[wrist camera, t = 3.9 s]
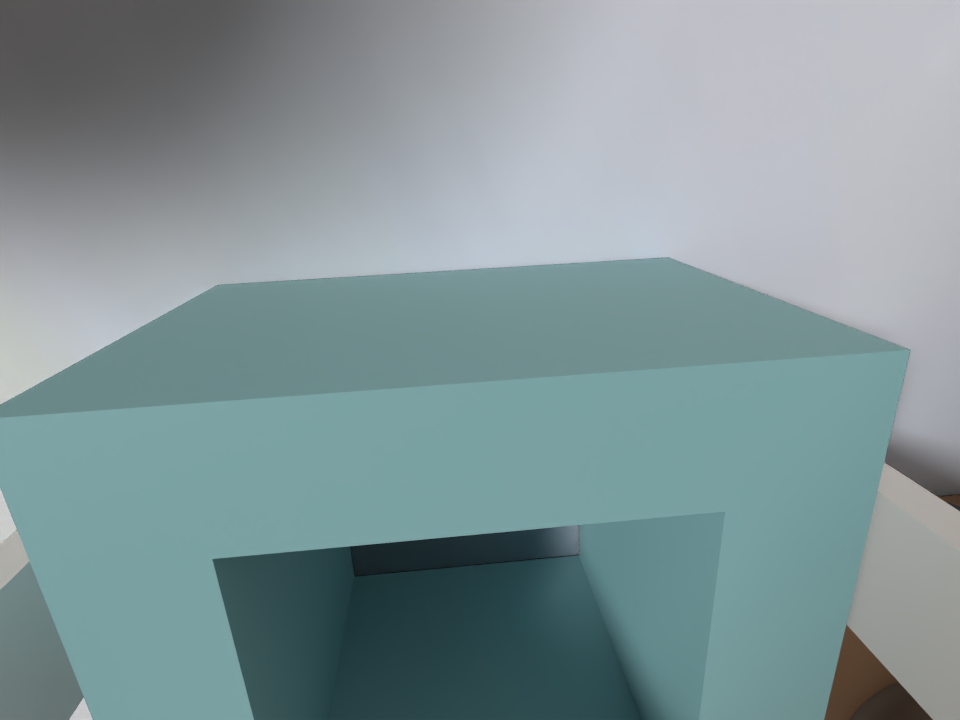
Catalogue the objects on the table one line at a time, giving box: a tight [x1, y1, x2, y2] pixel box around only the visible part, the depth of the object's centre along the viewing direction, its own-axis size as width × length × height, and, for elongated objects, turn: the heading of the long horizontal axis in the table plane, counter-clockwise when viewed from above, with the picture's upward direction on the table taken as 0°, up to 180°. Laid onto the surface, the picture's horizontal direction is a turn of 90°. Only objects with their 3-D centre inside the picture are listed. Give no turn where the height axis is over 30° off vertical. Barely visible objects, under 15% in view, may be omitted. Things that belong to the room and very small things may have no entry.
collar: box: [0, 258, 910, 720], centre depth 10 cm, size 9×9×6 cm
